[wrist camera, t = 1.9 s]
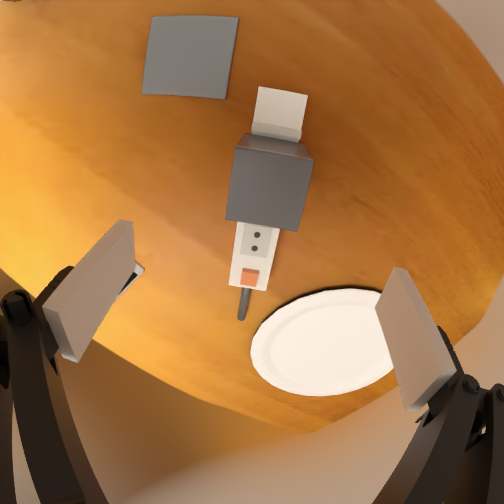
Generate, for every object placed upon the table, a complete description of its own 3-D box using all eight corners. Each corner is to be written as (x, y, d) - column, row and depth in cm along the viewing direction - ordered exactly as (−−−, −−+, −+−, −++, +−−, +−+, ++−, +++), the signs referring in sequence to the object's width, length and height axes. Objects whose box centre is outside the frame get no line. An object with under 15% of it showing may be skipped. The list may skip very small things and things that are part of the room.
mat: (154, 17, 24) (152, 16, 24) (239, 18, 25) (238, 17, 24) (143, 93, 30) (141, 94, 29) (225, 99, 30) (225, 99, 29)
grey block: (244, 132, 28) (234, 147, 21) (304, 143, 28) (314, 162, 21) (236, 188, 31) (224, 220, 24) (292, 197, 31) (297, 232, 24)
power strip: (260, 86, 29) (258, 86, 24) (303, 94, 29) (309, 95, 24) (226, 311, 46) (221, 336, 41) (256, 316, 46) (254, 341, 42)
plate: (438, 322, 45) (441, 328, 44) (339, 401, 59) (340, 407, 58) (317, 250, 39) (318, 256, 38) (223, 362, 54) (222, 369, 52)
